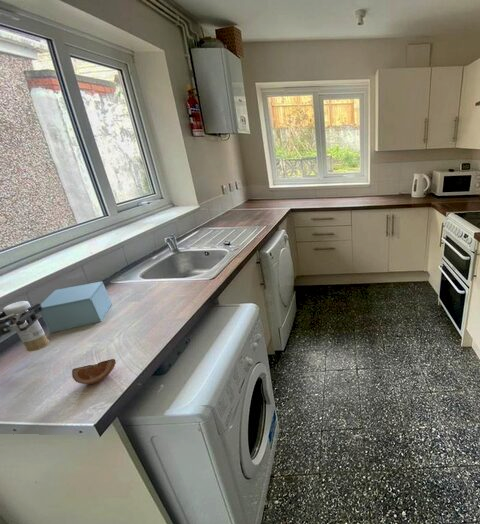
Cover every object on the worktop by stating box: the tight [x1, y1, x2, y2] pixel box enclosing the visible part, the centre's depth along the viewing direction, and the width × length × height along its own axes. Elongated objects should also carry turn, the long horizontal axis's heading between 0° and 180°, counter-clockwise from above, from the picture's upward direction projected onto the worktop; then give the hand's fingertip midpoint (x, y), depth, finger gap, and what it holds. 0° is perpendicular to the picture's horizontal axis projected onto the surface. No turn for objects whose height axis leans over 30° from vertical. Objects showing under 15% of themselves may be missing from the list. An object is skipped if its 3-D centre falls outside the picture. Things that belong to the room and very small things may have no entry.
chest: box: [38, 283, 112, 334], centre depth 101 cm, size 14×14×9 cm
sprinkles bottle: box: [2, 300, 50, 352], centre depth 77 cm, size 5×5×13 cm
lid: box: [40, 281, 104, 310], centre depth 99 cm, size 14×14×1 cm
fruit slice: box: [71, 358, 117, 385], centre depth 73 cm, size 8×7×5 cm
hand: (29, 307), depth 77 cm, fingers closed on sprinkles bottle, 4 cm apart
